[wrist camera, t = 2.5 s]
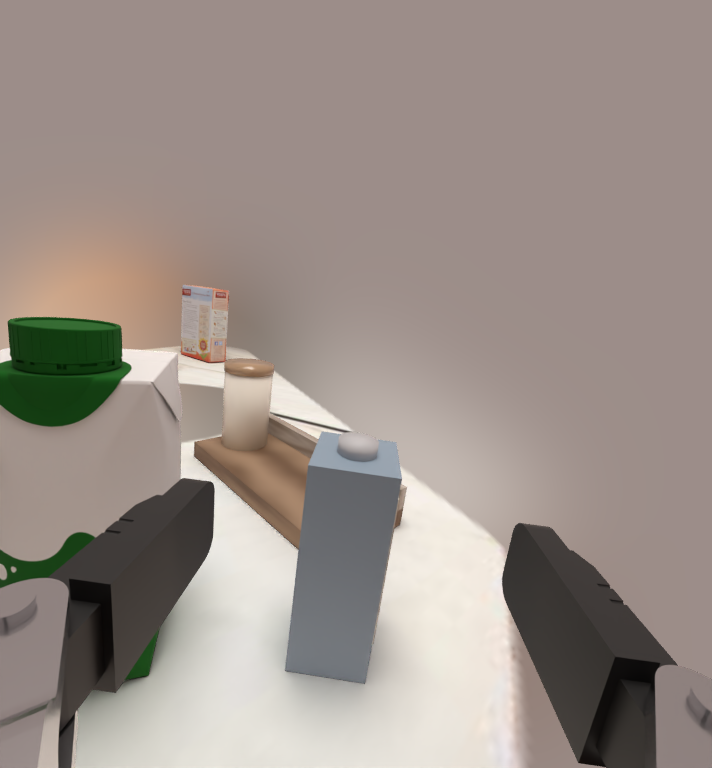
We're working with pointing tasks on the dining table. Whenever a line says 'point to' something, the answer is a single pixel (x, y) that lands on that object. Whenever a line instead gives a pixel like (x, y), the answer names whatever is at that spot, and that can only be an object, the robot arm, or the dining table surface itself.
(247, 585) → the dining table surface
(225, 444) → the jar
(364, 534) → the tea tin
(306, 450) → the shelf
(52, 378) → the milk carton
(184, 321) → the cracker box
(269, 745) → the dining table surface
